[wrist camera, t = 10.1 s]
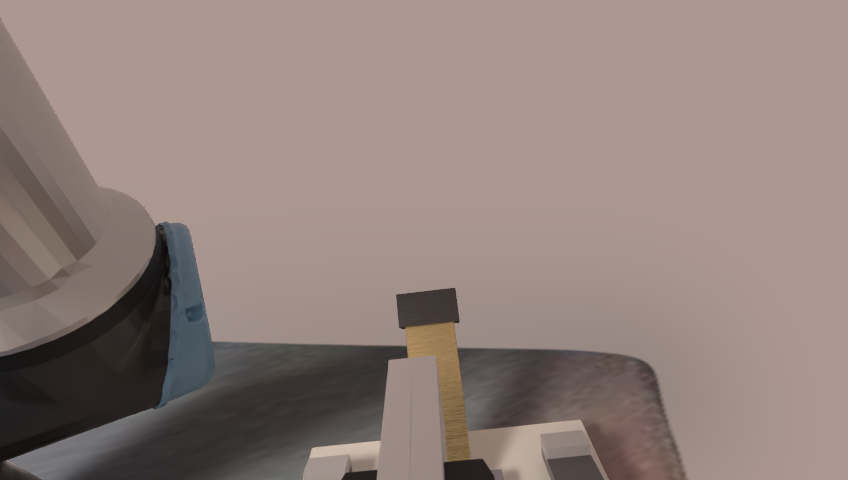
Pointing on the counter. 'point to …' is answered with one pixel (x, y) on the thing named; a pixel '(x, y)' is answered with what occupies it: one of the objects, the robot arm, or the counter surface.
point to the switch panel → (482, 450)
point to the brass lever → (438, 356)
